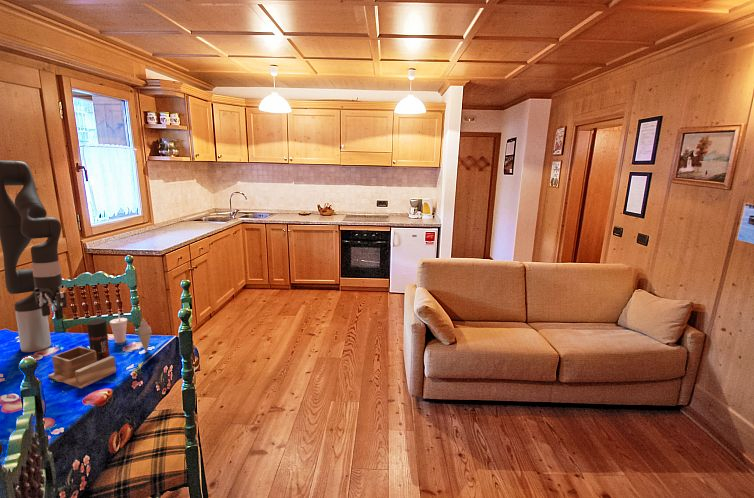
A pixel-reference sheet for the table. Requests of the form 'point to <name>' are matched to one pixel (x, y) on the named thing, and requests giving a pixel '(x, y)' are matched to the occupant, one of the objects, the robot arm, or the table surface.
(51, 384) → the table surface
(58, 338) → the table surface
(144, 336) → the ice cream cone
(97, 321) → the deodorant
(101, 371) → the brown piece
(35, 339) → the robot arm
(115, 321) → the smoothie
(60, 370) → the socket block
